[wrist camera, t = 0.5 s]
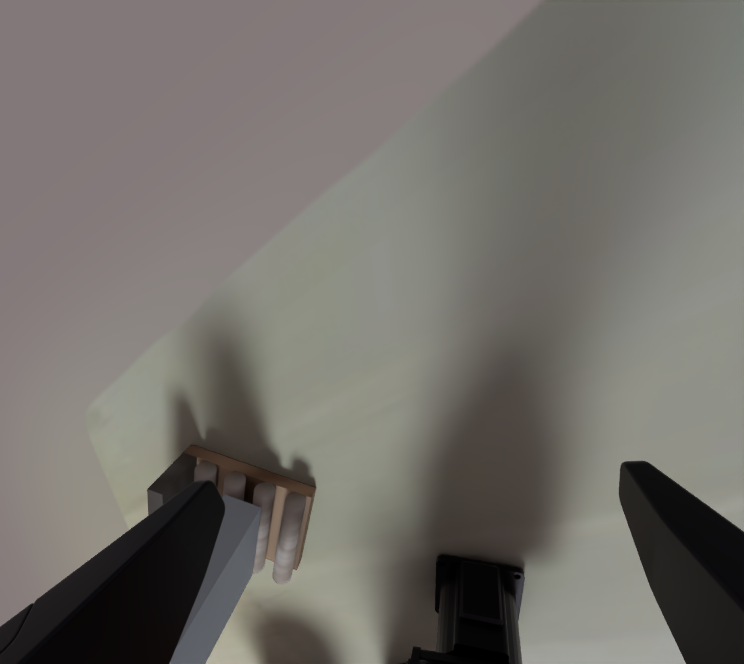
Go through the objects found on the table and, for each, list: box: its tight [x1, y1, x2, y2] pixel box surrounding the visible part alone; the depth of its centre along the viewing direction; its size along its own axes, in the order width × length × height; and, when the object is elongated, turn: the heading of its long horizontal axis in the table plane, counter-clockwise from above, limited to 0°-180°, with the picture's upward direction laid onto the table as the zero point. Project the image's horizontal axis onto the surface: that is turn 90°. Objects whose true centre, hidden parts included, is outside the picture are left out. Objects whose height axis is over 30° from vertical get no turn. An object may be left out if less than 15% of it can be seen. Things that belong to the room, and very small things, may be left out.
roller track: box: [147, 445, 316, 584], centre depth 32 cm, size 11×9×5 cm
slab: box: [170, 494, 261, 664], centre depth 27 cm, size 3×8×10 cm, turn 168°
